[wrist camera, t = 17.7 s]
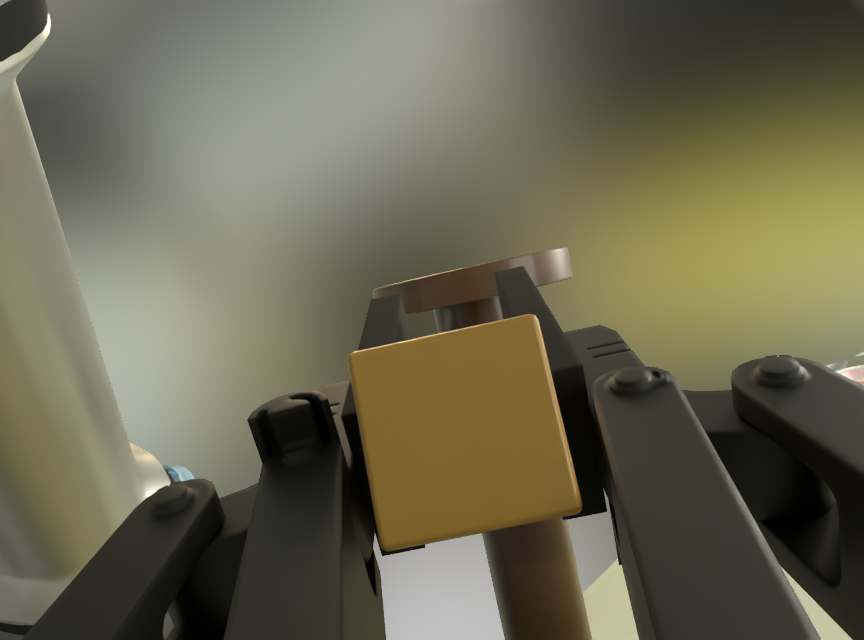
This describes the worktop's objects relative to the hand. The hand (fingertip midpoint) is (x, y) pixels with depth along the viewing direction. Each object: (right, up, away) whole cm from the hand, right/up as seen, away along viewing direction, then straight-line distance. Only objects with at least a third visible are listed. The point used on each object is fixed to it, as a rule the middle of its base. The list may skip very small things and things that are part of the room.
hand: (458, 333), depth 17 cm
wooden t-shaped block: (+1, -4, 0) cm, 4 cm away
